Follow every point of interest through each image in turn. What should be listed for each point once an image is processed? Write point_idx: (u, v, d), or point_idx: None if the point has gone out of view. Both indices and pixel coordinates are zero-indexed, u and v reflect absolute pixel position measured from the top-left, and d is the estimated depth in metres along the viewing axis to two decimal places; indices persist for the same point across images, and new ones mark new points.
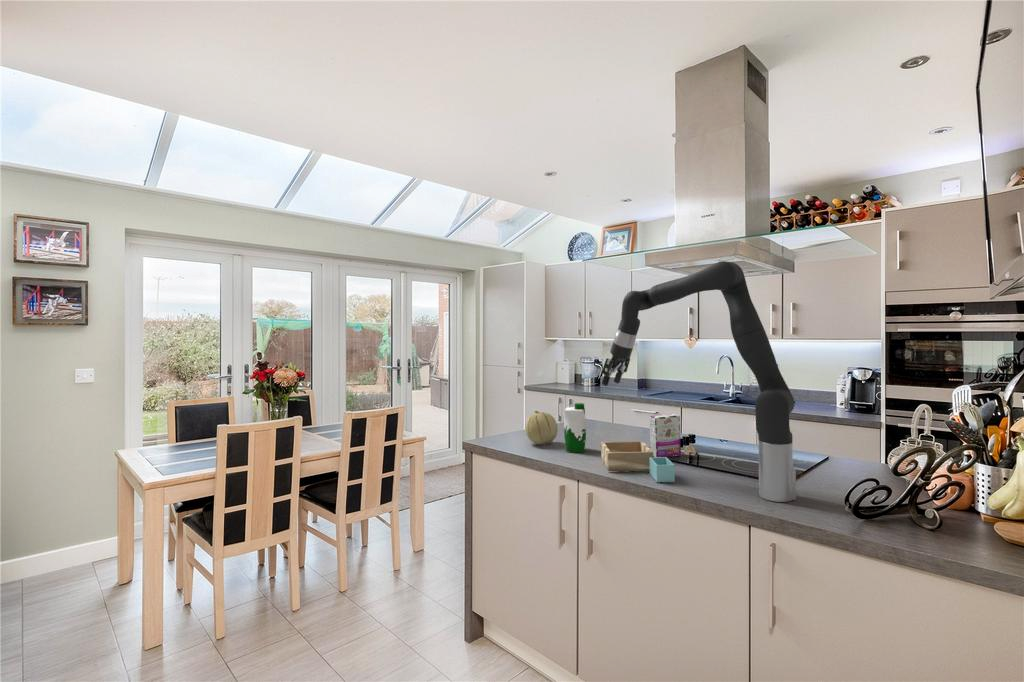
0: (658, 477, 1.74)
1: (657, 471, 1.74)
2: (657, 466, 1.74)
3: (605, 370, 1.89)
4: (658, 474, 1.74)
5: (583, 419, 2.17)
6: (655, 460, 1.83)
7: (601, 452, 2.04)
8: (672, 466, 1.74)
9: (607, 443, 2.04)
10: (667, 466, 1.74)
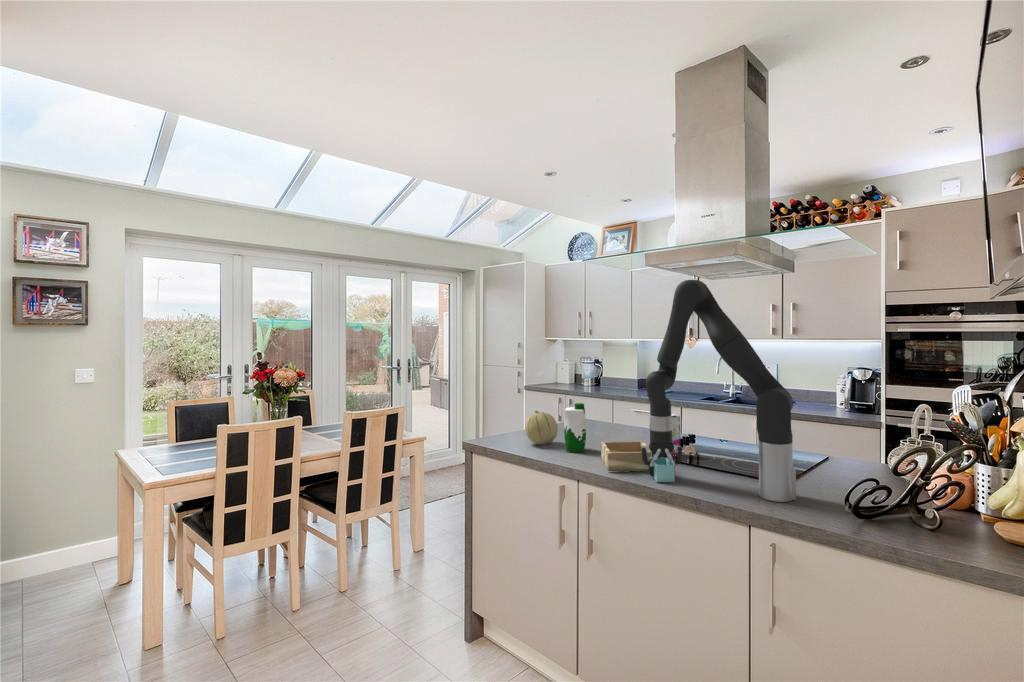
0: (658, 477, 1.74)
1: (657, 471, 1.74)
2: (657, 466, 1.74)
3: (649, 460, 1.80)
4: (658, 474, 1.74)
5: (583, 419, 2.17)
6: None
7: (601, 452, 2.04)
8: (672, 466, 1.74)
9: (607, 443, 2.04)
10: (667, 466, 1.74)
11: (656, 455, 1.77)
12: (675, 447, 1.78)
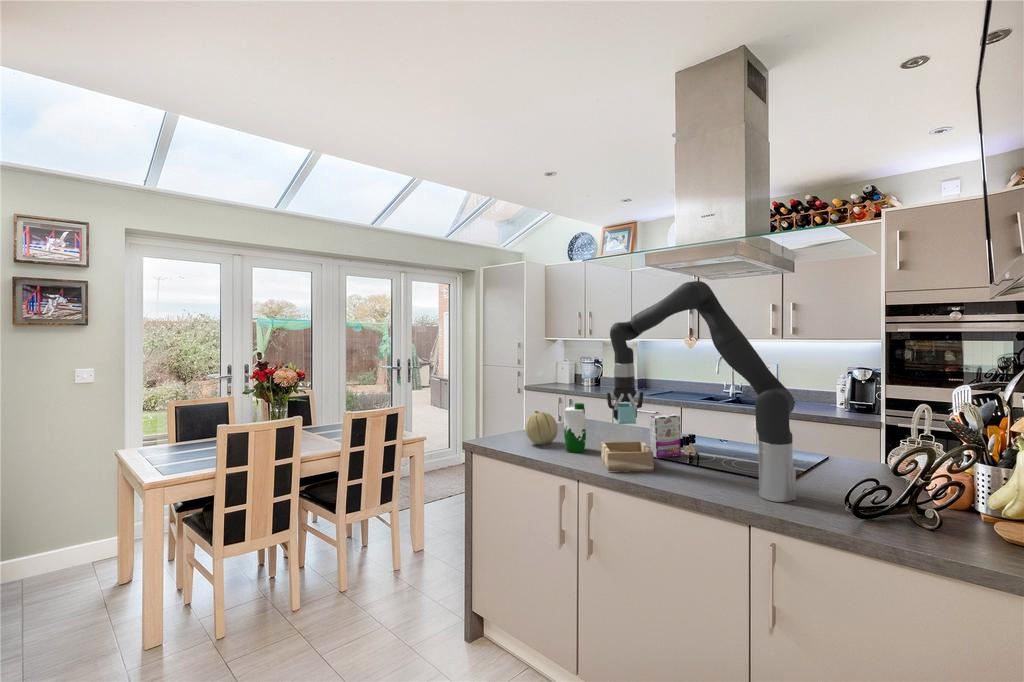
0: (621, 418, 1.90)
1: (620, 413, 1.90)
2: (620, 408, 1.90)
3: (614, 404, 1.97)
4: (621, 416, 1.90)
5: (583, 419, 2.17)
6: (620, 406, 2.00)
7: (601, 452, 2.04)
8: (633, 408, 1.90)
9: (607, 443, 2.04)
10: (629, 409, 1.90)
11: (620, 399, 1.94)
12: (637, 392, 1.94)
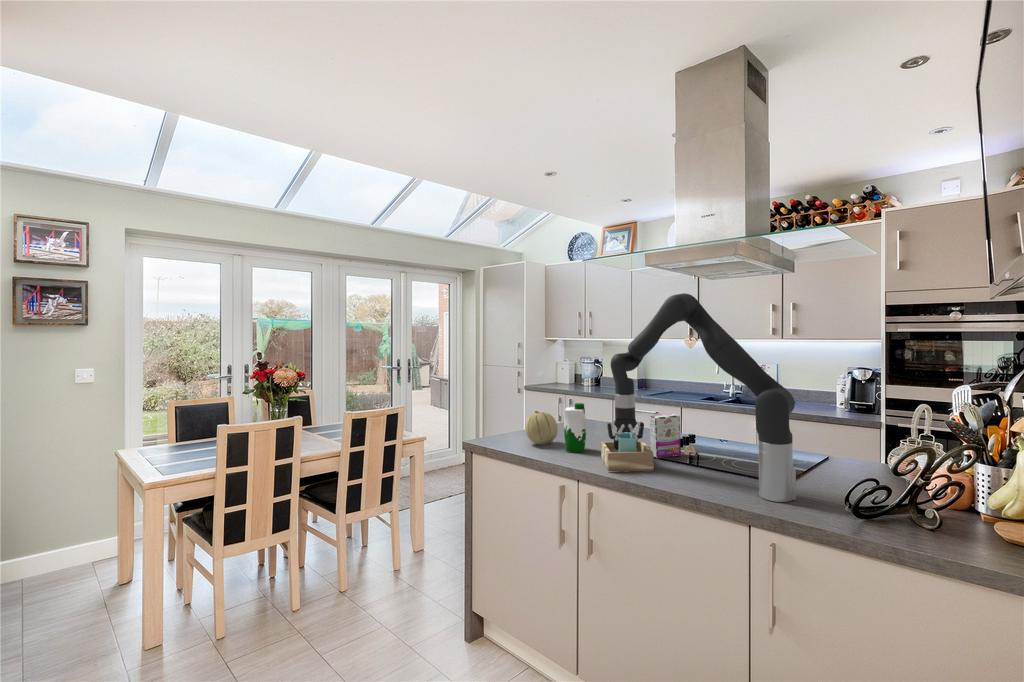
0: (621, 449, 1.91)
1: (620, 444, 1.91)
2: (620, 439, 1.91)
3: (614, 435, 1.97)
4: (621, 447, 1.91)
5: (583, 419, 2.17)
6: (620, 435, 2.00)
7: (601, 452, 2.04)
8: (634, 439, 1.91)
9: (607, 443, 2.04)
10: (630, 440, 1.91)
11: (620, 430, 1.94)
12: (638, 423, 1.95)
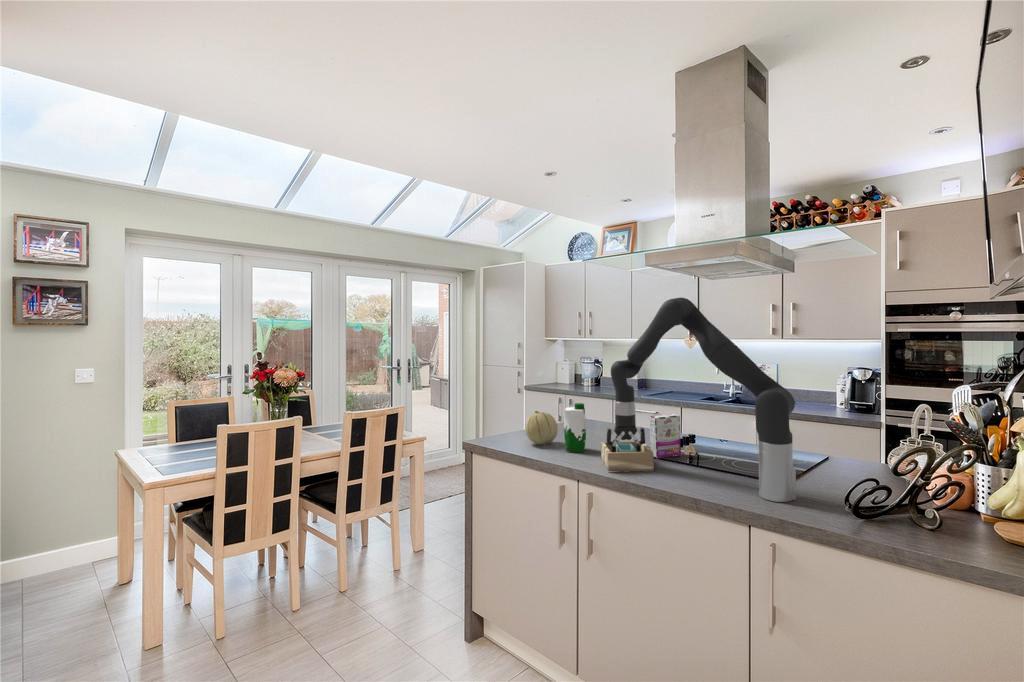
0: None
1: None
2: (621, 451, 1.91)
3: None
4: None
5: (583, 419, 2.17)
6: (620, 446, 2.00)
7: (601, 452, 2.04)
8: (634, 451, 1.91)
9: None
10: (630, 451, 1.91)
11: (620, 437, 1.94)
12: (638, 429, 1.95)
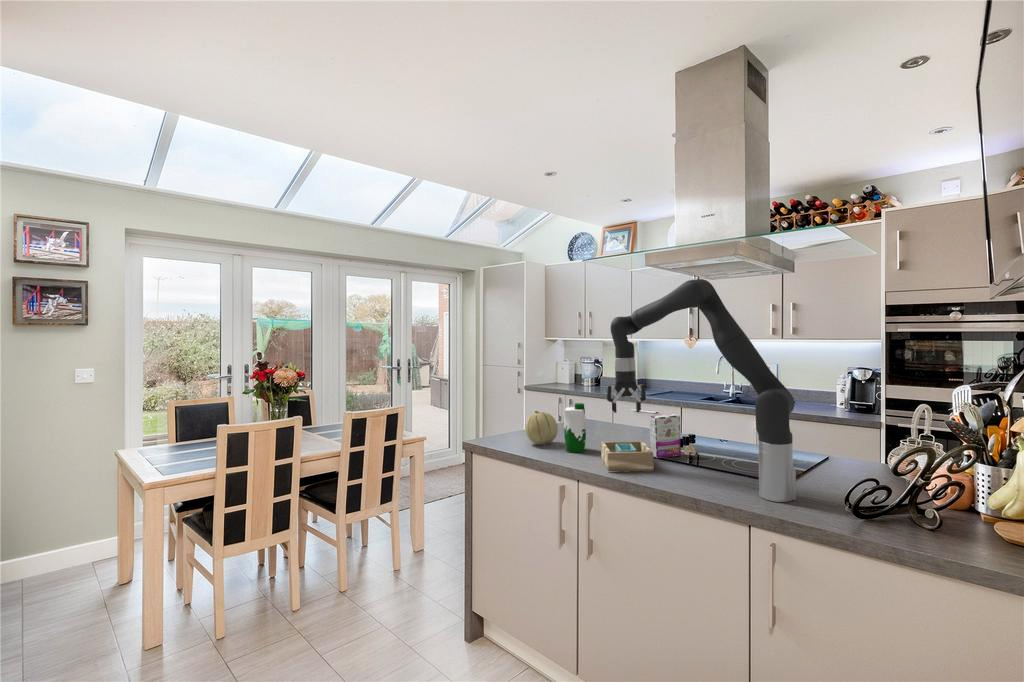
0: None
1: None
2: (621, 451, 1.91)
3: (613, 398, 1.96)
4: None
5: (583, 419, 2.17)
6: (620, 446, 2.00)
7: (601, 452, 2.04)
8: (634, 451, 1.91)
9: (607, 443, 2.04)
10: (630, 451, 1.91)
11: (620, 393, 1.93)
12: (638, 386, 1.94)
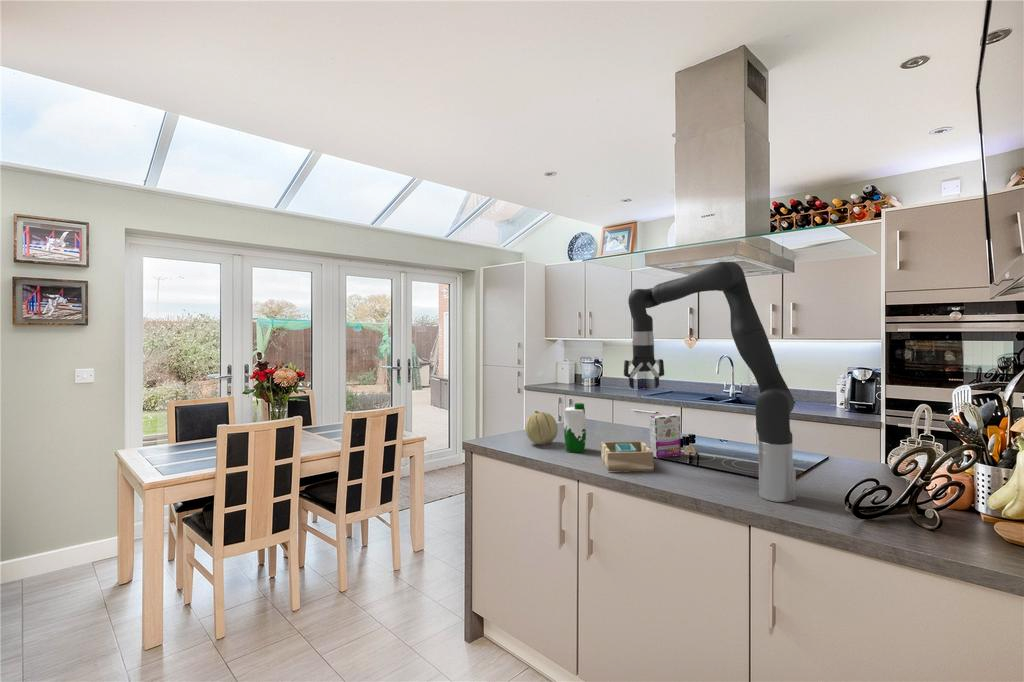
0: None
1: None
2: (621, 451, 1.91)
3: (630, 373, 1.90)
4: None
5: (583, 419, 2.17)
6: (620, 446, 2.00)
7: (601, 452, 2.04)
8: (634, 451, 1.91)
9: (607, 443, 2.04)
10: (630, 451, 1.91)
11: (637, 368, 1.87)
12: (656, 361, 1.88)
